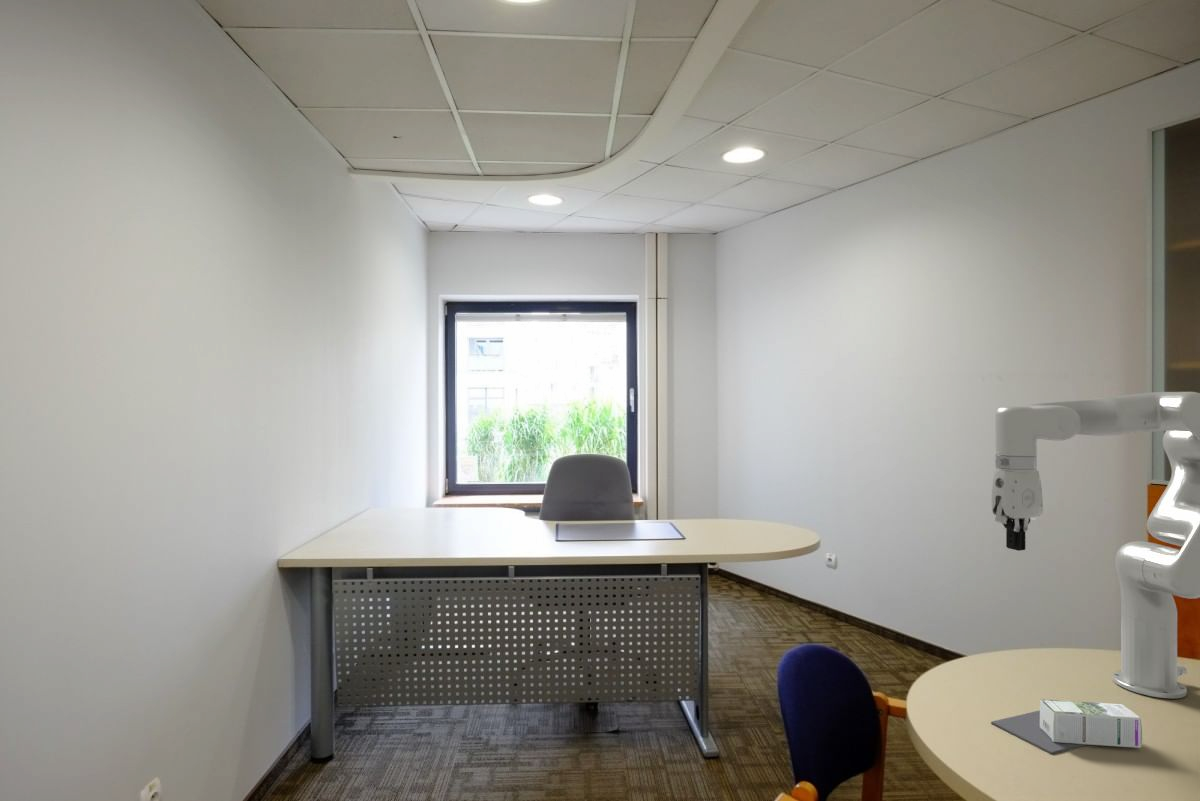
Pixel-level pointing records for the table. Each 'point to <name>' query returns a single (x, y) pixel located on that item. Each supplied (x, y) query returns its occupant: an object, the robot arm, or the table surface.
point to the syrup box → (1090, 723)
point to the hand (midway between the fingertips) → (1015, 548)
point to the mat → (1032, 732)
